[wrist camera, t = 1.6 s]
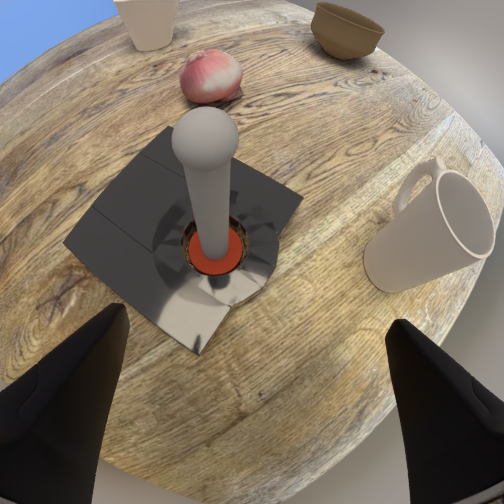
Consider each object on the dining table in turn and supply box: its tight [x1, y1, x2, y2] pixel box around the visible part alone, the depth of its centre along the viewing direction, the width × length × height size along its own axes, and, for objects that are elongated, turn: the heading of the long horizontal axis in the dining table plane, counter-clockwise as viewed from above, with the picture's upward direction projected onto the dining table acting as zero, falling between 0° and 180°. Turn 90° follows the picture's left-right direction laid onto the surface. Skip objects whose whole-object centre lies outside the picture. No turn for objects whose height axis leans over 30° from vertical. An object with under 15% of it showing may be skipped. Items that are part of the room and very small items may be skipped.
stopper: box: [172, 107, 242, 276], centre depth 17 cm, size 5×5×16 cm
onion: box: [180, 49, 243, 108], centre depth 28 cm, size 8×8×7 cm
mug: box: [364, 156, 495, 293], centre depth 20 cm, size 10×7×12 cm, turn 177°
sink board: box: [63, 126, 304, 356], centre depth 23 cm, size 16×17×2 cm
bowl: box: [311, 2, 385, 60], centre depth 34 cm, size 13×13×10 cm
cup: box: [112, 0, 179, 51], centre depth 30 cm, size 12×12×12 cm
